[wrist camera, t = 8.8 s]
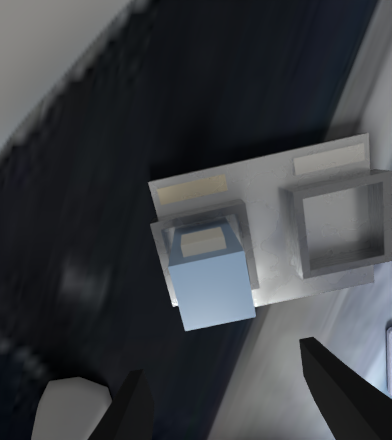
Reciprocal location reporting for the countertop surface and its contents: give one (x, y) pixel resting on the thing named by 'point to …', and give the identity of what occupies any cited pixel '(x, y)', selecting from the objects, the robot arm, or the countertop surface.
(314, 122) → the countertop surface
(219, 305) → the plug
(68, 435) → the flask
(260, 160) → the panel
